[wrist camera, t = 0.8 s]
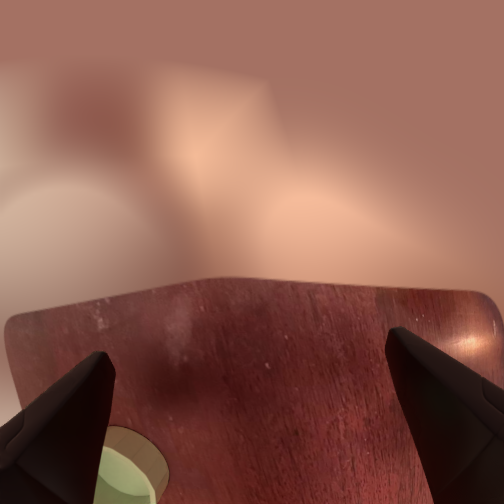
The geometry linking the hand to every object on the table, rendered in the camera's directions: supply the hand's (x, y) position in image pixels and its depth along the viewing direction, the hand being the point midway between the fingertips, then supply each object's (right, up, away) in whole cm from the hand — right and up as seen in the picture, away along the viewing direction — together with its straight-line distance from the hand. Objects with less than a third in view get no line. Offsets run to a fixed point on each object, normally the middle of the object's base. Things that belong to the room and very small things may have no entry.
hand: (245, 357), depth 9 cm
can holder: (-12, -17, +13) cm, 25 cm away
